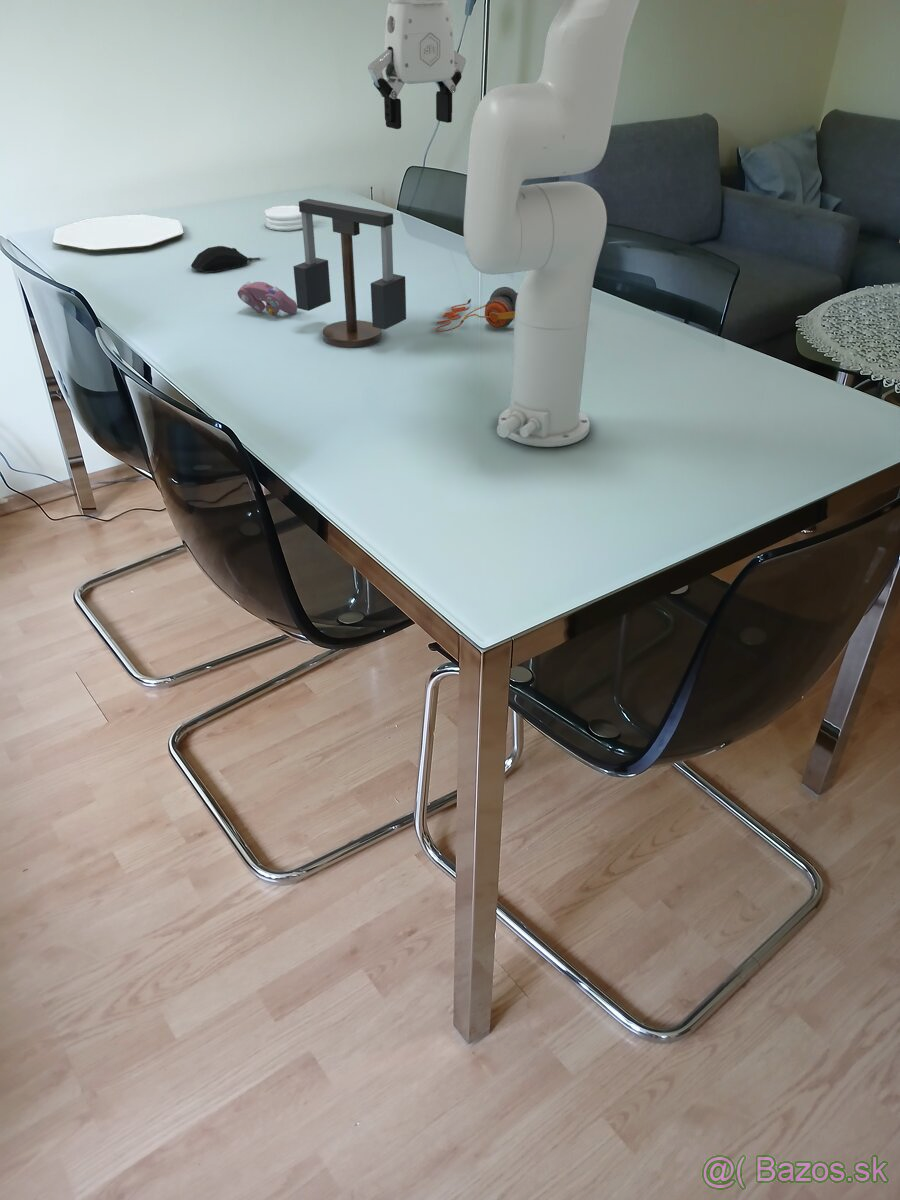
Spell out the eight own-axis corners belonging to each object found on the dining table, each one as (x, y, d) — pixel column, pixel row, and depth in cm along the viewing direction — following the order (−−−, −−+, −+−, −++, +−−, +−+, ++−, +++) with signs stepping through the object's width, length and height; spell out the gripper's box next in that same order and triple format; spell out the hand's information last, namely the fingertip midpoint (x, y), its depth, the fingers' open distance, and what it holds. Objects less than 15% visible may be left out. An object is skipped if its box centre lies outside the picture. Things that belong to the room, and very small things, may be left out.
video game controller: (245, 318, 167) (229, 288, 161) (257, 300, 168) (242, 270, 162) (289, 327, 163) (274, 297, 157) (301, 309, 165) (287, 278, 159)
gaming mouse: (266, 263, 189) (264, 243, 187) (200, 275, 182) (196, 255, 180) (252, 256, 193) (250, 236, 191) (187, 268, 186) (183, 247, 184)
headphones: (433, 348, 158) (547, 330, 152) (426, 318, 155) (541, 299, 149) (452, 316, 171) (557, 299, 165) (446, 288, 168) (553, 270, 162)
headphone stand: (357, 352, 149) (350, 229, 138) (310, 339, 154) (300, 220, 142) (393, 334, 156) (389, 216, 145) (347, 323, 160) (340, 207, 149)
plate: (57, 226, 212) (55, 219, 211) (178, 218, 218) (177, 211, 218) (52, 259, 191) (51, 252, 190) (187, 249, 197) (186, 241, 196)
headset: (384, 329, 146) (380, 219, 136) (297, 308, 155) (287, 203, 145) (406, 319, 150) (403, 211, 141) (320, 298, 159) (311, 195, 149)
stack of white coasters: (294, 218, 219) (293, 202, 217) (317, 226, 213) (315, 210, 211) (257, 225, 214) (256, 209, 212) (280, 233, 208) (278, 217, 206)
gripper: (383, -7, 123) (387, 134, 133) (480, -10, 132) (478, 122, 142) (352, -9, 128) (358, 127, 138) (448, -12, 137) (448, 116, 147)
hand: (419, 124), depth 140 cm, fingers open, 9 cm apart
